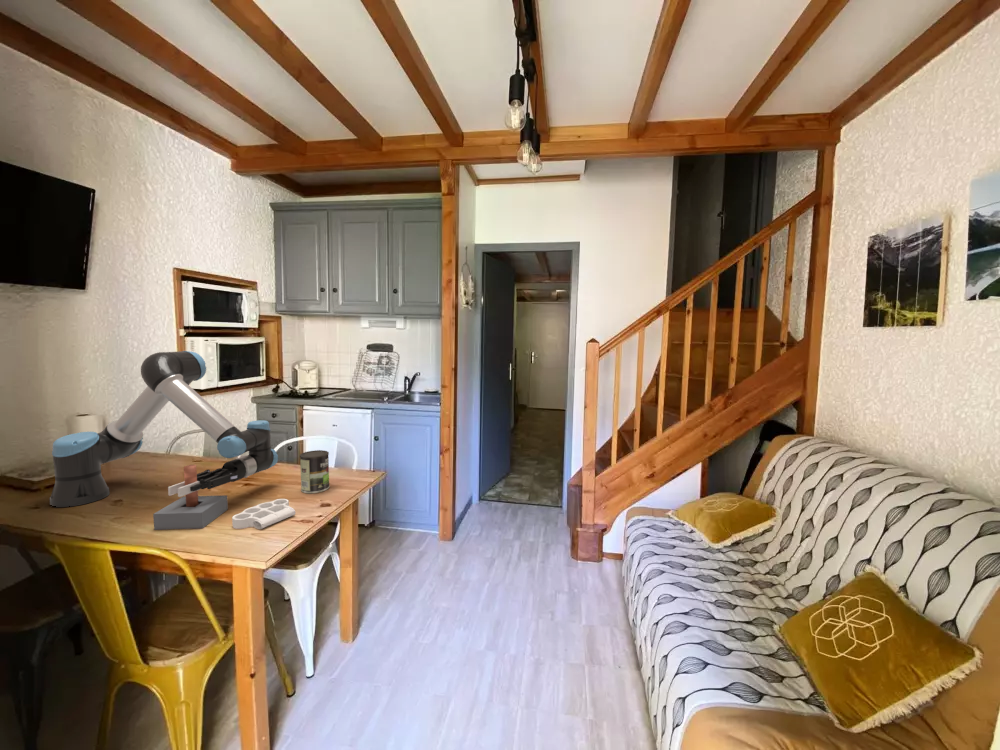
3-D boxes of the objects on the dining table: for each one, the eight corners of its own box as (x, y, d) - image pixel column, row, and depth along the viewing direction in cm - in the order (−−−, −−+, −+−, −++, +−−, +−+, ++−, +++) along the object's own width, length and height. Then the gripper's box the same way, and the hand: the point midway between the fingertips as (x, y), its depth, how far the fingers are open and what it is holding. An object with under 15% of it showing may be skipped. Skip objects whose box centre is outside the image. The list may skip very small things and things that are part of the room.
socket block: (154, 529, 127) (153, 514, 127) (184, 510, 141) (183, 496, 141) (202, 528, 128) (201, 512, 128) (227, 509, 142) (227, 495, 142)
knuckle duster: (251, 536, 125) (223, 525, 131) (304, 513, 141) (276, 505, 147) (251, 525, 124) (222, 515, 131) (303, 504, 140) (276, 495, 147)
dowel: (184, 516, 133) (181, 467, 131) (190, 512, 136) (187, 464, 135) (195, 516, 133) (192, 467, 132) (201, 512, 136) (198, 464, 135)
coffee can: (333, 484, 167) (333, 450, 166) (322, 493, 157) (321, 457, 156) (308, 483, 168) (307, 449, 166) (295, 493, 157) (294, 457, 156)
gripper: (257, 480, 149) (195, 506, 127) (221, 476, 153) (154, 500, 131) (256, 460, 149) (193, 482, 126) (220, 456, 153) (153, 477, 130)
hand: (174, 491), depth 128 cm, fingers closed on dowel, 3 cm apart
